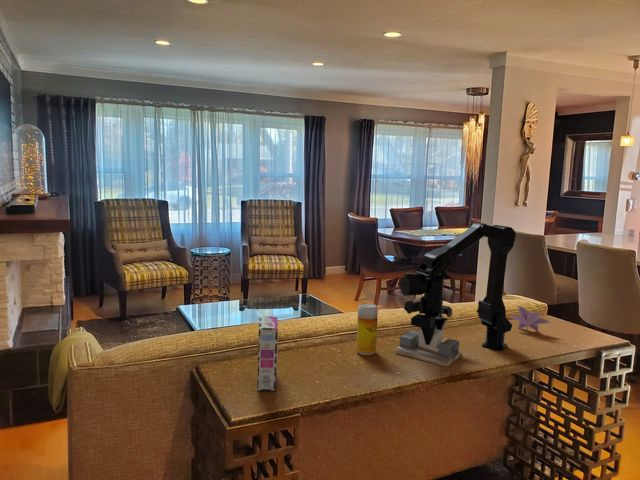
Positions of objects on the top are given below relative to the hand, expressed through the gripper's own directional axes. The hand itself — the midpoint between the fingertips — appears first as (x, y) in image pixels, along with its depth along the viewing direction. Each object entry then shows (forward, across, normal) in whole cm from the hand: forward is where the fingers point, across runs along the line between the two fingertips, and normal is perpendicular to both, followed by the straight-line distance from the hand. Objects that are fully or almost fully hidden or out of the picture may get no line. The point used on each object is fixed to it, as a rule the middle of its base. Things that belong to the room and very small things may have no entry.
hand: (430, 342), depth 157 cm
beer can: (+4, +12, -16) cm, 20 cm away
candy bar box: (+4, +48, -25) cm, 54 cm away
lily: (+4, -43, +19) cm, 47 cm away
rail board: (+4, +1, 0) cm, 4 cm away
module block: (+1, 0, 0) cm, 1 cm away
